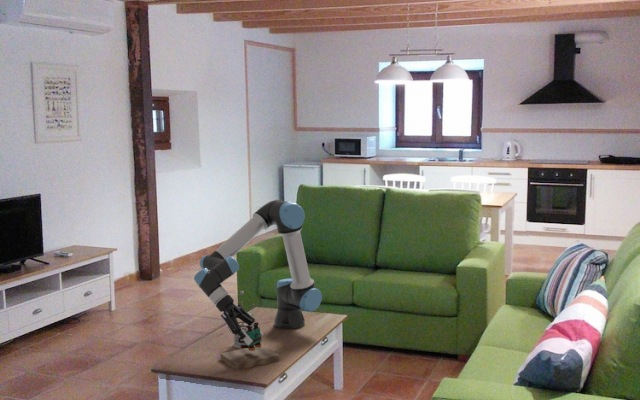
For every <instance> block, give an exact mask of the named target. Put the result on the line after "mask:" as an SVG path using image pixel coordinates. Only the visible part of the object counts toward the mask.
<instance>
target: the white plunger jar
mask: <svg viewBox="0 0 640 400" xmlns="http://www.w3.org/2000/svg"><path fill="white" fill-rule="evenodd" d="M239 294H240V295H244V294H245V292H244V290H240V292H239ZM243 305H244V304H243V301H241V306H242V308H243V309H244V307H243ZM248 313H249V314H250V315H251V316H252V314H251V313H250V312H248ZM238 323H239V326H240V328H241V330H242V329H243V330H244V331H245V332H246V331H248V329H247V326H249V325H248V324H246V323H245V322H243V321H238ZM227 326H228V325H227ZM228 331H229V332H230V333H231V334H233V333H232V331H231V329H230V328H229V326H228ZM233 335H234V336H233V338H234V339H233V340H234V341H233V342H234V343H232V347H234V348H236V349H237V348H238V349H242V348H241V345H246V344H245V343H239V342H238V339H239V338H240V336H239V334H237V335H235V334H233ZM240 341H243V339H241V340H240Z"/></svg>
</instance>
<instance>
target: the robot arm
mask: <svg viewBox="0 0 640 400" xmlns="http://www.w3.org/2000/svg"><path fill="white" fill-rule="evenodd" d="M305 219H306V214H305V211H304V208H303V207H302V206H301V205H299V204H298V203H296V202H293V201H285V200H280V199H275V200H270V201H269V202H266V203H265V204H264V205H262V206H260V208H258V209H257V210H256V211H255V212H254V213H253V214H252V218H250V219H249V220H248V221H247V222H246V223H244V225H242V226H241V227H239V229H238V230H236V231H235V232H234V233H233V234H232V235H231V236H230V237H229V238H228V239H227V240H225V241H224V242H223V243H222V244H221V245H220V246H219V247H217V248H216V249H215V250H214V251H213V252H212V253H210V254H205V255H203V256H202V257H201V258H200V261H199V267H200V270H199V271H198V272H197V273H196V274H195V275H194V276H193V280H194V282H195V283H196V285H197V287H199V289H200V290H202V292H203V293H204V294H205V295H206V296H207V297H208V298H209V300H210V301H211V302H212V304H213V305H215V307H216V309H218V311H219V312H222V313H221V314H220V317H221V318H222V319H223V320H224V322H225V324H226V325H227V326H229V328H228V329H230V331H231V332H232V333H231V334H233V335H234V334H235V335H237V334H239V336H240V337H241V338H242V339H243V340H244V341H245V343H246V344H247V345H249V344H250V343H251V342H252V339H251V338H250V337H249V336H248V335H247V334H246V332H245V331H244V330H243V329H242V327H241V328H240V326H239V323H238V322H239V320H238V319H240V321H241V322H245V323H246V324H248V325H249V326H252V330H253V328H254V325H253V324H254V323H256V320H255V318H254V317H253V316H252V314H251V313H250V312H248V311H247V310H245V308H244V307H243V308H242V304H240V303H238V304H235V303H234V302H235V300H234V298H233V297H232V296H231V295H230V294H229V292H228V291H227V290H226V289H225V288H224V286H223V285H222V284H223V283H224V282H225V281H226V280H227V279H229V278H230V277H232V276H234V275H235V274H236V273H237V272H238V271H239V269H240V265H239V262H238V261H237V259H236V258H235V257H234V256H235V255H236V254H238V252H240V250H242V249H243V248H244V247H245V246H246V245H248V243H250V242H251V241H252V240H253V239H254V238H255V237H256V236H257V235H259V234H260V233H261V232H262V231H263V230H268V229H269V228H270V227H271V226H275V225H276V229H277V232H278V234H279V235H281V236H282V240H283V245H284V249H285V253H286V258H287V263H288V267H289V272H290V276H291V278H283V279H279V280H278V281H277V282H276V301H277V303H276V304H277V306H276V307H277V311H276V314H275V316H274V317H275V318H274V319H273V320H274V321H273V323H274V324H273V325H274V327H275V328H278V329H285V330H293V329H298V328H302V327H304V326H305V324H306V322H305V321H306V320H305V317H304V314H303V312H308V313H312V312H314V311H316V310H317V309H318V308H319V307H320V304H321V303H322V298H323V297H322V292H321V291H320V290H319V289H318V288H316V284H315V280H314V279H312V278H311V276H310V271H309V266H308V262H307V258H306V257H307V256H306V252H305V247H304V243H303V238H302V234H301V231H302V230H303V228H304V227H303V224H304V222H305ZM302 311H303V312H302ZM249 313H250V314H251V315H250V314H249ZM241 329H242V330H241ZM260 333H261V337H262V336H263V335H264V333H263V332H262V330H260Z"/></svg>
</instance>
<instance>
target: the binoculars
mask: <svg viewBox="0 0 640 400" xmlns="http://www.w3.org/2000/svg"><path fill="white" fill-rule="evenodd" d="M253 325H254V328H253V330H252V326H247V328H246V329H248V331H246V334H247V335H248V336H249V337H250V338H251V339H252V342H251V343H250V344H249V345H247V344H246V343H245V341H244V340H243V341H240V340H241V339H242V338H241V337H240V338H239V339H238V342H239V343H245V344H246V345H241V348H240V349H243V348H248V349H249V350H250V351H254V350H255V347H257V348H260V347H262V346H261V345H262V343H261V341H262V336H261V333H260V331H261V329H260V327H259V322H257V321H255V322H254V324H253ZM254 346H255V347H254Z"/></svg>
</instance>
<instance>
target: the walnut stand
mask: <svg viewBox="0 0 640 400" xmlns="http://www.w3.org/2000/svg"><path fill="white" fill-rule="evenodd" d="M261 346H262V347H260V348H257V347H255V345H254V347H255V350H254V351H250V350H249V349H248V348H238V349H234V350H230V351H226V352H225V351H224V352H221V353H220V354H219V355H220V357H219V358H220V360H221V361H223V362H224V363H226V364H227V365H228V366H230V367H231V368H233V369H234V370H236V371H241V370H244V369H249V368H253V367H258V366H261V365H267V364H270V363H274V362H275V363H276V362H279V361H280V359H281V358H280V357H281V356H280V354H279V353H277V352H275V351H274V350H272V349H270V348H268V347H267V346H265V345H263V344H261Z"/></svg>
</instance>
